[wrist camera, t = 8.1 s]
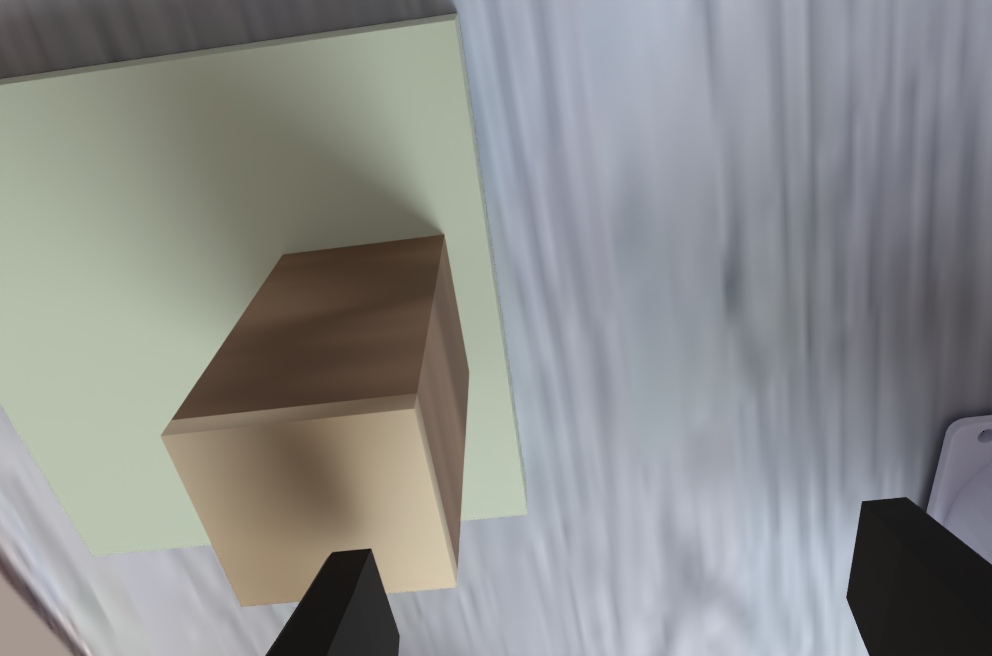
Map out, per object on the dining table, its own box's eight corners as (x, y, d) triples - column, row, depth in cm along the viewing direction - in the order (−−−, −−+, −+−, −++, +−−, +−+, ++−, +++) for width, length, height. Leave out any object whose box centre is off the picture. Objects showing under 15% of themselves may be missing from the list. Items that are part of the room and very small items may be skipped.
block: (444, 234, 16) (414, 408, 10) (469, 372, 18) (456, 587, 12) (282, 254, 17) (160, 436, 11) (324, 388, 19) (241, 606, 13)
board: (458, 13, 15) (454, 19, 14) (525, 480, 22) (527, 514, 21) (-123, 96, 16) (-177, 110, 15) (114, 521, 23) (92, 556, 22)
